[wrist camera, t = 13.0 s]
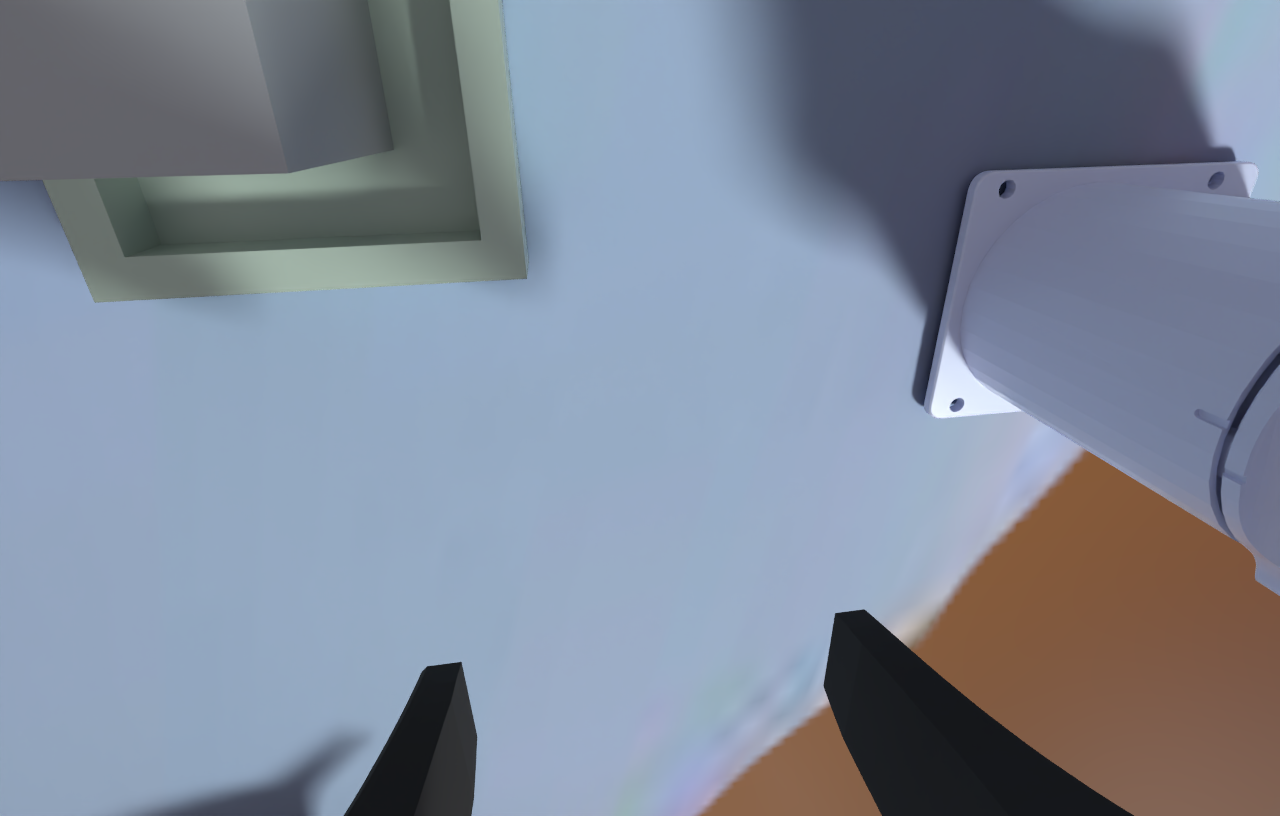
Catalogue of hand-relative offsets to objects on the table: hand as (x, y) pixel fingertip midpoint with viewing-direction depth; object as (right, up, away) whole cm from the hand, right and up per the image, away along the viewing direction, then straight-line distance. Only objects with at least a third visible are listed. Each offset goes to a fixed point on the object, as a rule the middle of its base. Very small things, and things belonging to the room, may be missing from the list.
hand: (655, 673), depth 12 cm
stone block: (-8, +13, +2) cm, 16 cm away
